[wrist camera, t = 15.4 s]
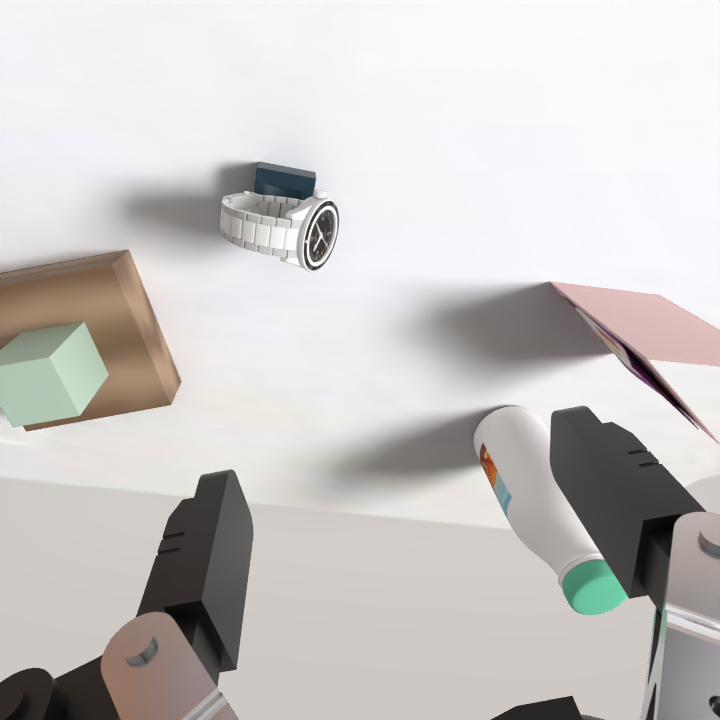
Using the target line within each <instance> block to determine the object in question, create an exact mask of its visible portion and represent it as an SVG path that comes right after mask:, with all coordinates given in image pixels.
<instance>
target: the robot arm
mask: <svg viewBox="0 0 720 720" xmlns="http://www.w3.org/2000/svg"><path fill="white" fill-rule="evenodd" d="M550 467H551V471H552V474H553V477H554V479H555V481H556V483H557V485H558V486H559V488H560V490H561V491H562V493H563V494H564V496H565V498H566V499H567V501H568V502H569V504H570V506H571V507H572V509H573V510H574V512H575V513H576V515H577V517H578V518H579V520H580V521H581V523H582V525H583V526H584V528H585V529H586V531H587V532H588V534H589V536H590V537H591V539H592V540H593V542H594V544H595V545H596V547H597V548H598V550H599V551H600V553H601V555H602V556H603V558H604V559H605V561H606V563H607V564H608V566H609V567H610V569H611V571H612V572H613V574H614V575H615V577H616V578H617V580H618V582H619V583H620V585H621V586H622V588H623V590H624V591H625V593H626V594H627V596H628V597H629V598H635V597H641V596H646V595H648V596H649V597H650V599H651V600H652V601H653V603H654V604H655V606H656V609H655V614H654V620H653V629H652V637H651V645H650V653H649V662H648V670H647V677H646V685H645V693H644V700H643V707H642V713H641V718H640V720H720V515H719V514H715V513H710V512H706V511H705V510H704V509H703V507H701V505H700V504H699V503H698V502H697V501H696V500H695V499H694V498H693V497H692V496H691V495H690V494H689V493H688V492H687V490H686V489H685V488H684V487H683V486H682V485H681V484H680V483H679V482H678V481H677V480H676V479H675V478H674V477H673V476H672V475H671V474H670V472H669V471H668V470H667V469H666V468H665V467H664V466H663V465H662V464H659V462H658V460H657V459H656V458H655V457H654V456H653V455H652V453H651V452H650V451H649V452H648V451H647V448H646V447H645V446H644V445H643V444H642V443H641V442H640V441H639V440H638V439H637V438H636V437H635V435H634V434H633V433H631V432H629V431H627V430H626V429H624V428H622V427H620V426H618V425H617V424H615V423H613V422H608V423H603V424H602V423H601V421H600V420H599V419H598V418H597V417H596V416H595V415H594V414H593V412H592V411H591V410H590V409H589V408H588V407H586V406H579V407H574V408H568V409H563V410H557V411H554V412H553V413H552V416H551V433H550ZM252 542H253V523H252V518H251V514H250V511H249V508H248V505H247V502H246V500H245V497H244V494H243V492H242V489H241V486H240V484H239V481H238V478H237V476H236V473H235V472H234V470H232V469H231V470H225V471H220V472H215V473H209V474H204V475H202V476H201V477H200V479H199V482H198V486H197V489H196V493H195V496H194V498H189V499H184V500H182V501H181V503H180V504H179V505H178V506H177V508H176V509H175V510H174V511H173V513H172V514H171V515H170V517H169V519H168V522H167V525H166V528H165V531H164V534H163V540H161V543H160V546H159V549H158V555H157V556H156V558H155V562H154V564H153V567H152V570H151V573H150V576H149V579H148V582H147V585H146V588H145V591H144V595H143V597H142V600H141V604H140V607H139V610H138V613H137V615H136V618H134V619H133V620H131V621H130V622H128V623H127V624H125V625H124V626H123V627H122V628H121V629H120V630H119V631H118V632H117V633H116V634H115V635H114V636H113V637H112V639H111V640H110V642H109V643H108V645H107V647H106V649H105V651H104V653H103V655H101V656H100V657H98V658H96V659H94V660H92V661H90V662H88V663H86V664H84V665H82V666H80V667H78V668H76V669H74V670H72V671H70V672H68V673H66V674H64V675H62V676H60V677H58V678H56V679H53V677H52V676H51V675H50V674H49V673H48V672H47V671H45V670H44V669H40V668H30V669H26V670H23V671H20V672H17V673H15V674H13V675H11V676H10V677H8V678H6V679H5V680H3V681H2V682H1V683H0V720H239V719H238V717H237V716H236V714H235V713H234V711H233V710H232V708H231V707H230V705H229V703H228V702H227V700H226V699H225V697H224V696H223V694H222V693H220V691H219V690H218V688H217V685H218V679H219V673H220V672H225V671H231V670H236V669H237V661H238V653H239V645H240V637H241V629H242V622H243V613H244V606H245V597H246V590H247V582H248V573H249V565H250V558H251V550H252ZM491 720H604V719H600V718H596V717H592V716H588V715H580V712H579V710H578V708H577V706H576V703H575V701H574V699H573V697H572V696H569V697H563V698H558V699H552V700H547V701H541V702H536V703H531V704H525V705H520V706H516V707H514V708H512V709H510V710H508V711H506V712H504V713H502V714H501V715H499V716H497V717H495V718H493V719H491Z"/></svg>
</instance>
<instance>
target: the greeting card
mask: <svg viewBox="0 0 720 720" xmlns="http://www.w3.org/2000/svg"><path fill="white" fill-rule="evenodd" d="M550 283H551V284H552V285H553V286H554V288H555V289H556V290H557V291H558V292H559V293H560V294H561V295H562V296H563V298H564V299H565V300H566V301H567V302H568V303H569V304H570V305H571V306H572V308H573V309H574V310H575V311H576V312H577V313H578V314H579V315H580V316H581V318H582V319H583V320H584V321H585V322H586V323H587V324H588V325H589V326H590V328H591V329H592V330H593V331H594V332H595V333H596V334H597V335H598V336H599V338H600V339H601V340H602V341H603V342H604V343H605V344H606V345H607V346H608V348H609V349H610V350H611V351H612V352H613V353H614V354H615V355H616V356H617V357H618V359H619V360H620V361H621V362H622V363H623V365H624V366H625V367H626V368H627V369H628V370H629V371H630V372H631V373H632V374H634V375H635V376H636V377H637V378H639V379H640V380H641V381H643V382H644V383H645V384H647V385H648V386H650V387H651V388H652V389H654V390H655V391H656V392H658V393H659V394H661V395H662V396H663V397H664V398H665V399H666V400H667V401H669V402H670V403H671V404H672V405H673V406H674V407H675V408H676V409H677V410H678V411H679V412H680V413H681V414H682V415H683V416H684V417H686V418H687V419H688V420H689V421H690V422H691V423H692V424H693V425H694V426H695V424H696V425H697V426H699V427H700V428H701V429H702V430H703V431H704V432H706V433H707V434H708V435H709V436H710V437H711V438H713V439H714V440H715V441H716V442H717V443H718V444H720V443H719V442H718V441H717V439H716V438H715V437H714V436H713V435H712V434H711V432H710V431H709V430H708V429H707V428H706V427H705V425H704V424H703V423H702V422H701V421H700V420H699V418H698V417H697V416H696V415H695V414H694V413H693V411H692V410H691V409H690V408H689V407H688V406H687V404H686V403H685V402H684V401H683V400H682V399H681V397H680V396H679V395H678V394H677V393H676V392H675V391H674V389H673V388H672V387H671V386H670V385H669V384H668V382H667V381H666V380H665V379H664V378H663V377H662V375H661V374H660V373H659V372H658V371H657V370H656V368H655V367H654V366H653V365H652V364H651V363H650V361H649V360H659V361H669V362H679V363H689V364H699V365H709V366H719V367H720V330H719V329H717V328H715V327H714V326H712V325H710V324H708V323H707V322H705V321H703V320H702V319H700V318H698V317H696V316H695V315H693V314H691V313H690V312H688V311H686V310H684V309H683V308H681V307H679V306H678V305H676V304H674V303H672V302H671V301H669V300H667V299H666V298H664V297H662V296H660V295H655V294H647V293H639V292H630V291H622V290H614V289H606V288H598V287H590V286H581V285H573V284H565V283H557V282H550ZM648 359H649V360H648ZM691 420H692V421H693V422H694V423H695V424H694V423H693V422H692V421H691ZM695 427H696V426H695ZM696 428H697V427H696ZM697 429H698V428H697Z"/></svg>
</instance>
